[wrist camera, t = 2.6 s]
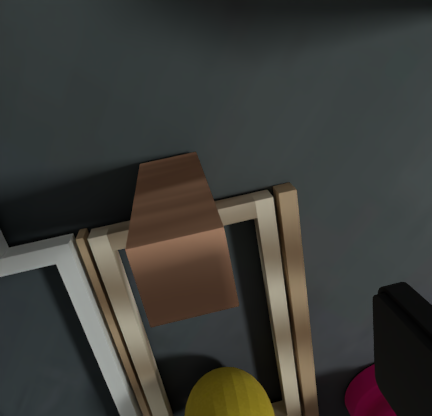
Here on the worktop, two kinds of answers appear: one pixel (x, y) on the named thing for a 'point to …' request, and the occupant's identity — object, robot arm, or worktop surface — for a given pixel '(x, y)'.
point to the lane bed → (294, 290)
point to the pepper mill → (366, 396)
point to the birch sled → (188, 266)
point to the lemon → (228, 395)
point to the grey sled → (77, 306)
